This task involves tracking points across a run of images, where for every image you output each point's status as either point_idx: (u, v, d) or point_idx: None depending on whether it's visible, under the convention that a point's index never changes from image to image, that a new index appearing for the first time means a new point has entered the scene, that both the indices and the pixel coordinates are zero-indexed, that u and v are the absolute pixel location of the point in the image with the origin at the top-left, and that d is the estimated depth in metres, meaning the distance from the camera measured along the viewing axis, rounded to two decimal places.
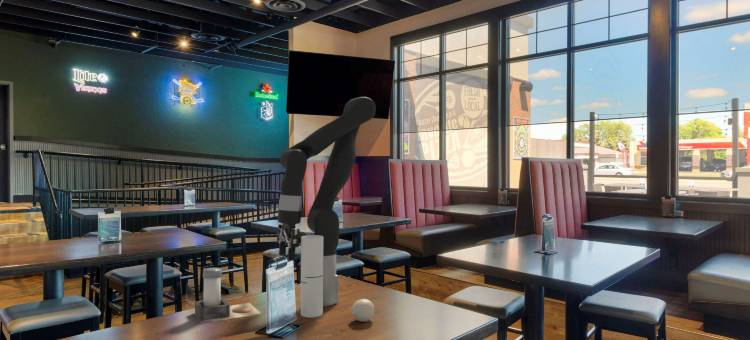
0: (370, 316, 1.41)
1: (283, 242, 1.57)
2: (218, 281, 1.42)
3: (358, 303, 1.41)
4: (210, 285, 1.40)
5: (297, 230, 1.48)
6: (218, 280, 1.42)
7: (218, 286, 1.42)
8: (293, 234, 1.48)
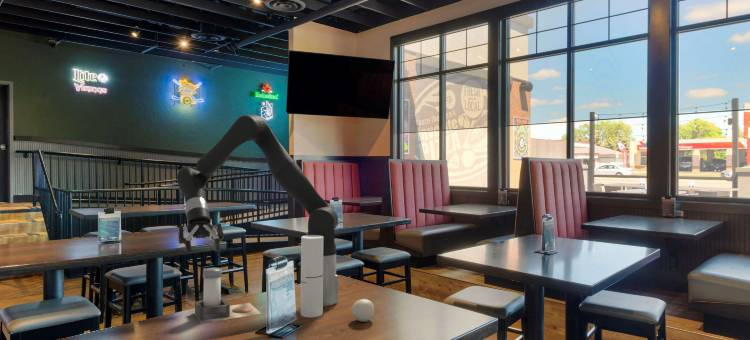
0: (370, 316, 1.41)
1: (214, 239, 1.58)
2: (218, 281, 1.42)
3: (358, 303, 1.41)
4: (210, 285, 1.40)
5: (179, 227, 1.55)
6: (218, 280, 1.42)
7: (218, 286, 1.42)
8: (178, 233, 1.55)
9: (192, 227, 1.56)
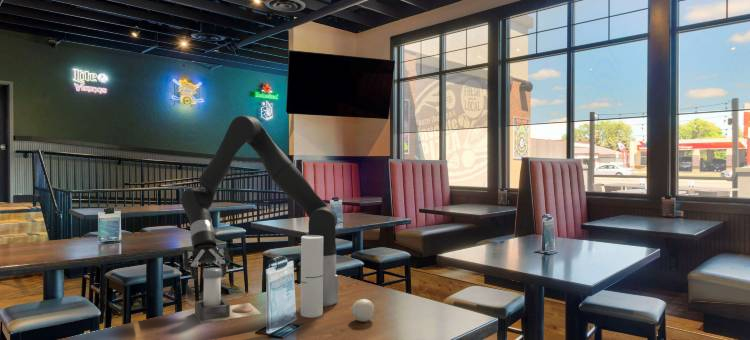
0: (370, 316, 1.41)
1: (221, 264, 1.50)
2: (218, 281, 1.42)
3: (358, 303, 1.41)
4: (210, 285, 1.40)
5: None
6: (218, 280, 1.42)
7: (218, 286, 1.42)
8: (183, 258, 1.48)
9: (197, 252, 1.49)
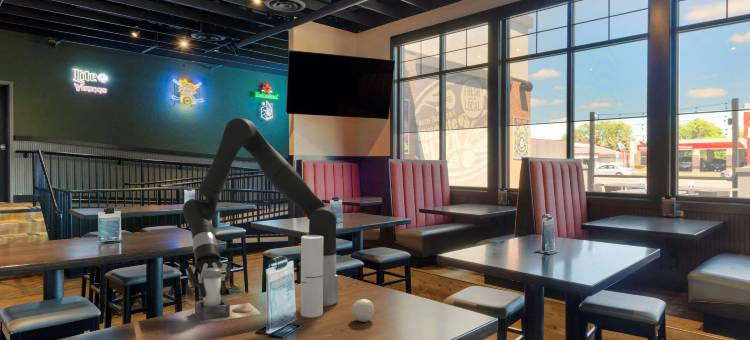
0: (370, 316, 1.41)
1: None
2: (218, 281, 1.42)
3: (358, 303, 1.41)
4: (210, 285, 1.40)
5: (186, 270, 1.43)
6: (218, 280, 1.42)
7: (218, 286, 1.42)
8: (187, 275, 1.43)
9: (200, 267, 1.45)
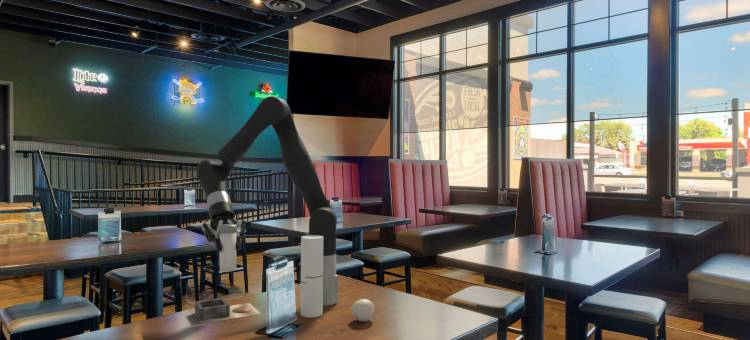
0: (370, 316, 1.41)
1: None
2: (234, 236, 1.44)
3: (358, 303, 1.41)
4: (226, 240, 1.42)
5: (202, 226, 1.45)
6: (234, 235, 1.44)
7: (234, 241, 1.44)
8: (203, 231, 1.45)
9: (216, 223, 1.47)
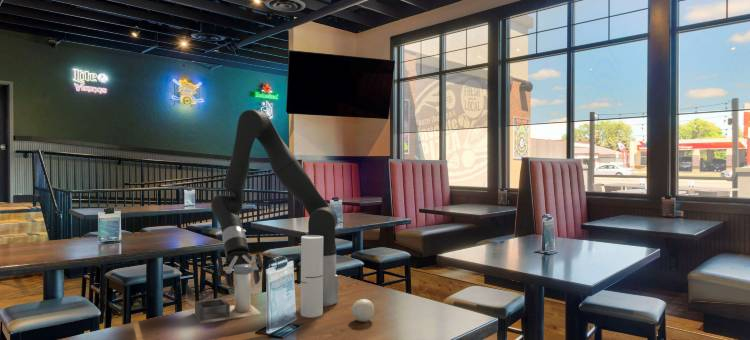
0: (370, 316, 1.41)
1: (253, 270, 1.51)
2: (248, 277, 1.47)
3: (358, 303, 1.41)
4: (241, 281, 1.45)
5: (217, 259, 1.48)
6: (248, 276, 1.47)
7: (248, 281, 1.47)
8: (217, 265, 1.48)
9: (231, 258, 1.50)
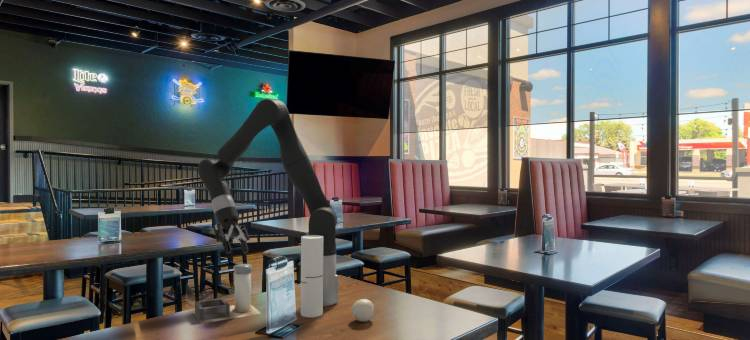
0: (370, 316, 1.41)
1: (242, 241, 1.63)
2: (249, 277, 1.47)
3: (358, 303, 1.41)
4: (242, 281, 1.45)
5: (217, 225, 1.55)
6: (249, 276, 1.47)
7: (249, 281, 1.47)
8: (214, 230, 1.55)
9: (227, 226, 1.58)
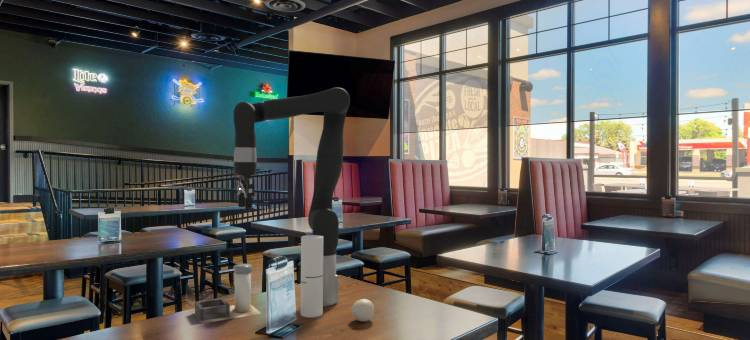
0: (370, 316, 1.41)
1: (242, 194, 1.62)
2: (249, 277, 1.47)
3: (358, 303, 1.41)
4: (241, 281, 1.45)
5: (252, 180, 1.53)
6: (249, 276, 1.47)
7: (249, 281, 1.47)
8: (248, 184, 1.52)
9: None
